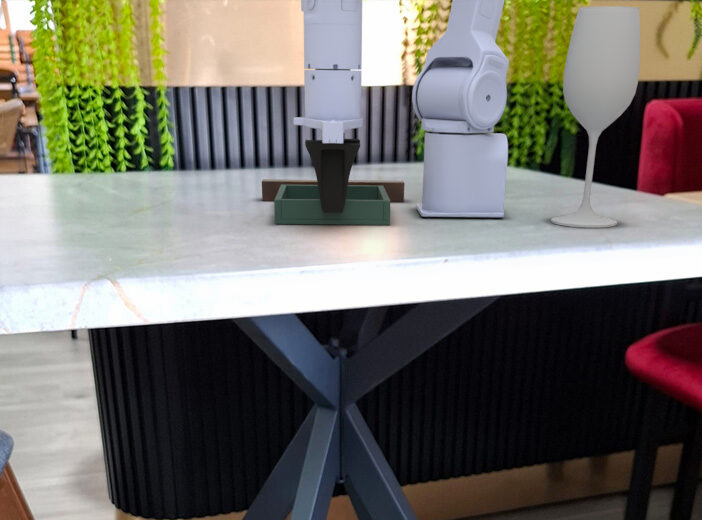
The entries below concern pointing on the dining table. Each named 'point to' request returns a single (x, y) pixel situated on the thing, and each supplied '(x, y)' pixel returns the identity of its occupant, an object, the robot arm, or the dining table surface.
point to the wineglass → (600, 84)
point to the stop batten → (392, 187)
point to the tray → (358, 210)
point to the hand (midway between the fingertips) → (332, 212)
